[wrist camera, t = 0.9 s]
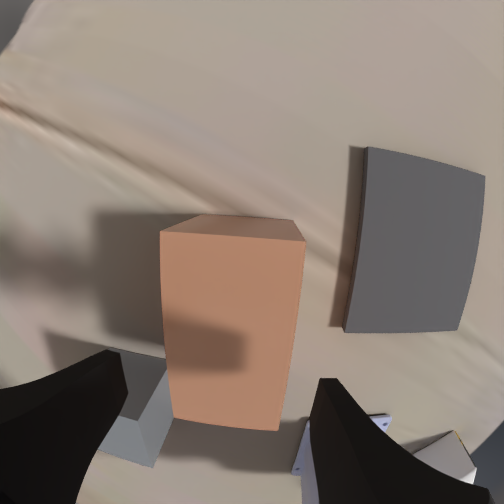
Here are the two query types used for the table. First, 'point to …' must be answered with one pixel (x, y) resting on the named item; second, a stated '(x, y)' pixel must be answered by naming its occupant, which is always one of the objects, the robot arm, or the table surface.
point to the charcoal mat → (413, 244)
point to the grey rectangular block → (141, 411)
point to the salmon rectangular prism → (230, 317)
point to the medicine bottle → (449, 458)
